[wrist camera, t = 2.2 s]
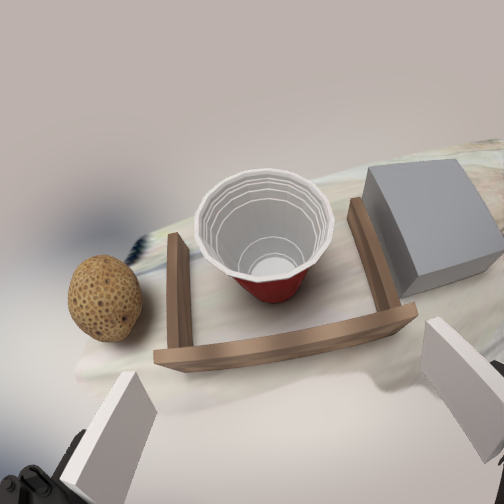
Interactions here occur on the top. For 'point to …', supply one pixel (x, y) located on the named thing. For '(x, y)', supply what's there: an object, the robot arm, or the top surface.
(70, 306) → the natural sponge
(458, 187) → the grey square block
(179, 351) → the brown wooden frame
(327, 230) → the plastic cup
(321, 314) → the top surface
